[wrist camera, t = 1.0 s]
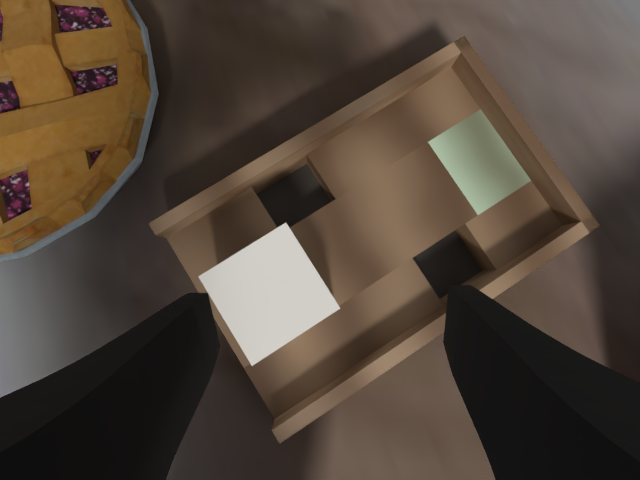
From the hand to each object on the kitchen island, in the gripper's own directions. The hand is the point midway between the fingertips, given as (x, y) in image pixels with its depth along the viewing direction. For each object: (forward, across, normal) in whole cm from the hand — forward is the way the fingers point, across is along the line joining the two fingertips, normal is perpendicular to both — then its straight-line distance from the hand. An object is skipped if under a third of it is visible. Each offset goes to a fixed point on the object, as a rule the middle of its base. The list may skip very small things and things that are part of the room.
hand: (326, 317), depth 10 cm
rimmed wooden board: (+13, -2, +3) cm, 14 cm away
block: (+9, +4, +4) cm, 11 cm away
